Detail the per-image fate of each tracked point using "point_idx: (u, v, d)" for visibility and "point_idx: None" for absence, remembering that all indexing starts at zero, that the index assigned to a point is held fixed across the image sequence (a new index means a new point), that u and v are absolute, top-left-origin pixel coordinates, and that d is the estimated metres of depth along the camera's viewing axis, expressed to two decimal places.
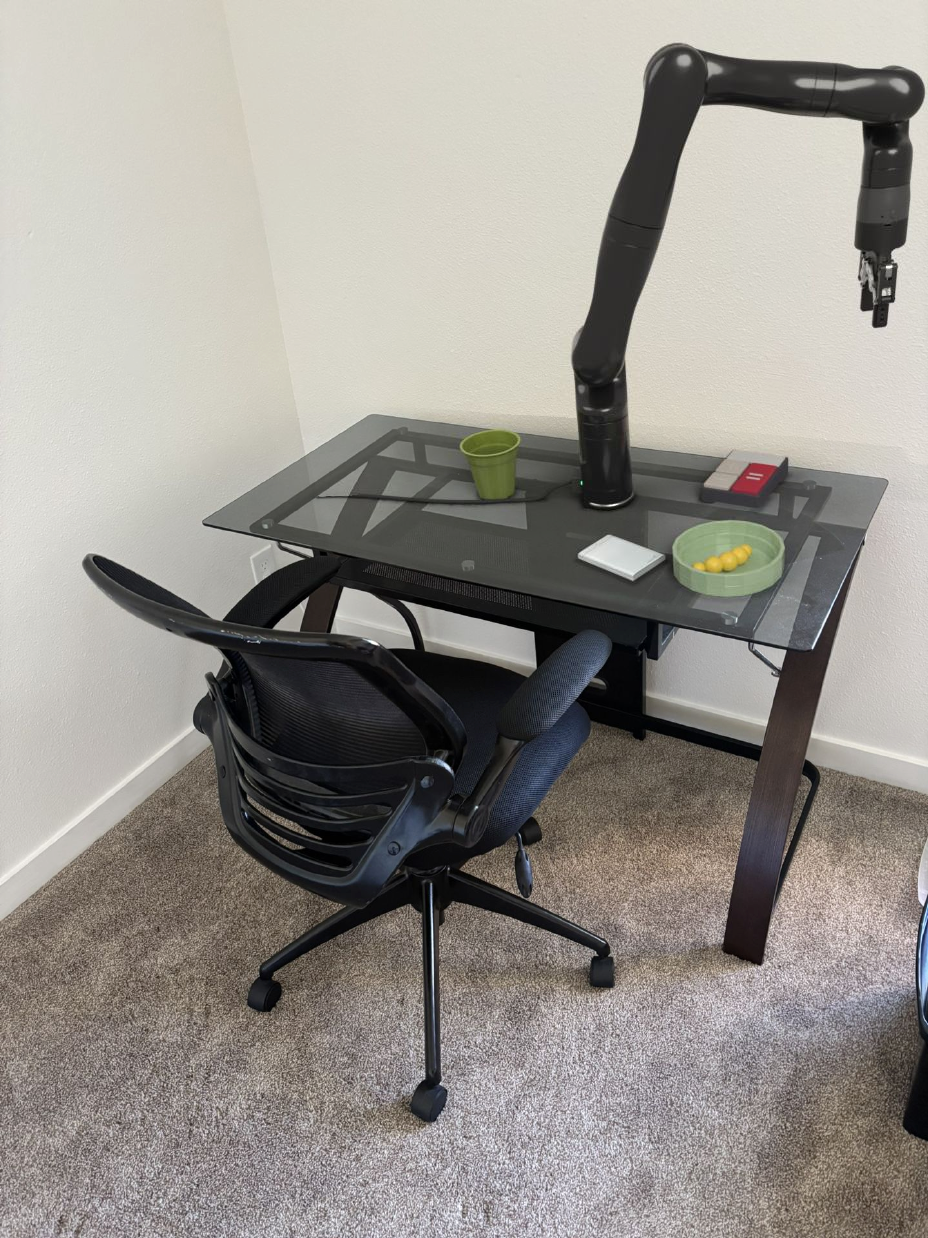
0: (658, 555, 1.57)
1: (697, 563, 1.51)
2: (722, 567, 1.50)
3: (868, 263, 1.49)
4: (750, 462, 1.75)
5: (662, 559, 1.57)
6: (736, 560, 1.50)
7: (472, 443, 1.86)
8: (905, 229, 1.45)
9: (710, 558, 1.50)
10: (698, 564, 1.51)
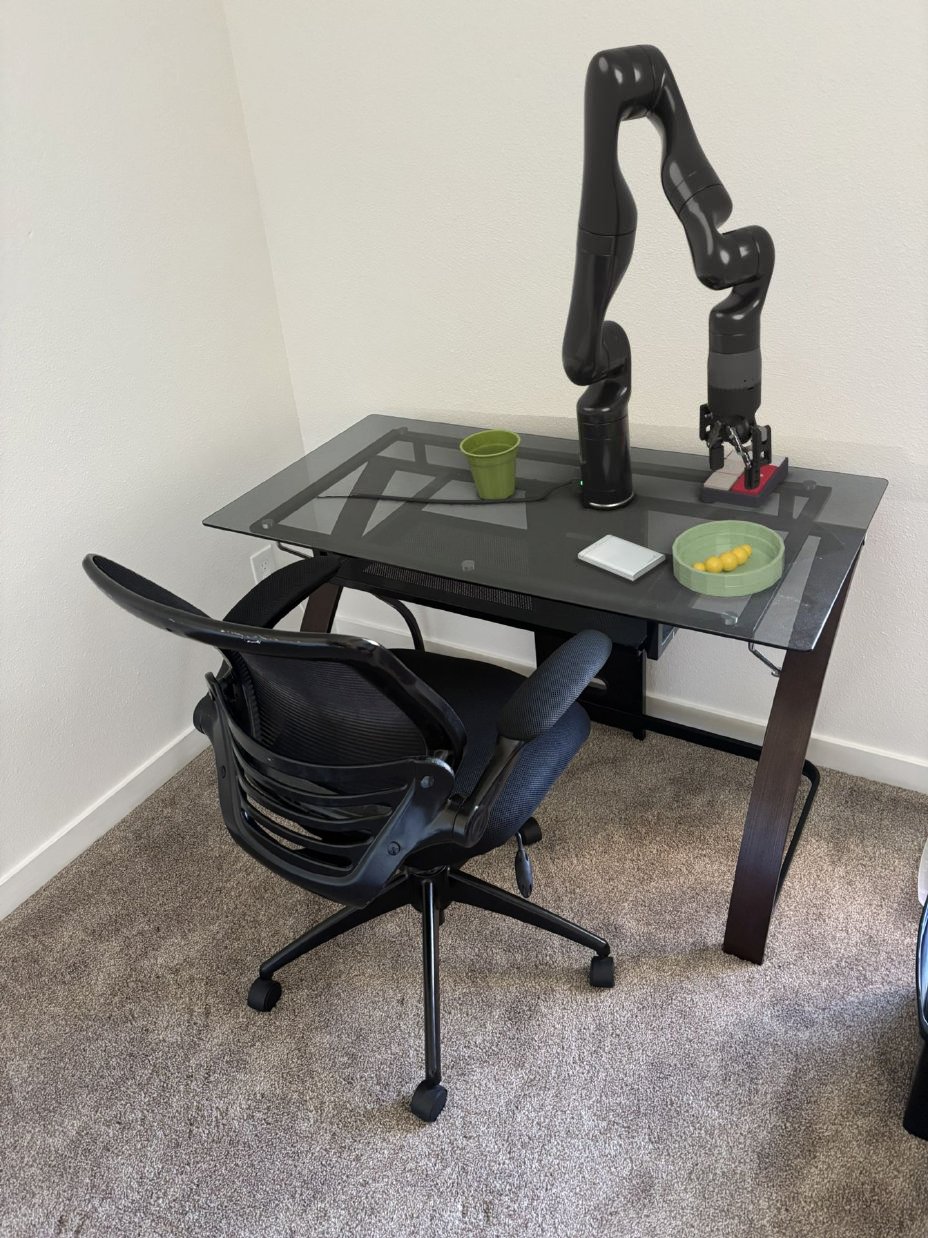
0: (658, 555, 1.57)
1: (697, 563, 1.51)
2: (722, 567, 1.50)
3: (730, 427, 1.37)
4: None
5: (662, 559, 1.57)
6: (736, 560, 1.50)
7: (472, 443, 1.86)
8: None
9: (710, 558, 1.50)
10: (698, 564, 1.51)
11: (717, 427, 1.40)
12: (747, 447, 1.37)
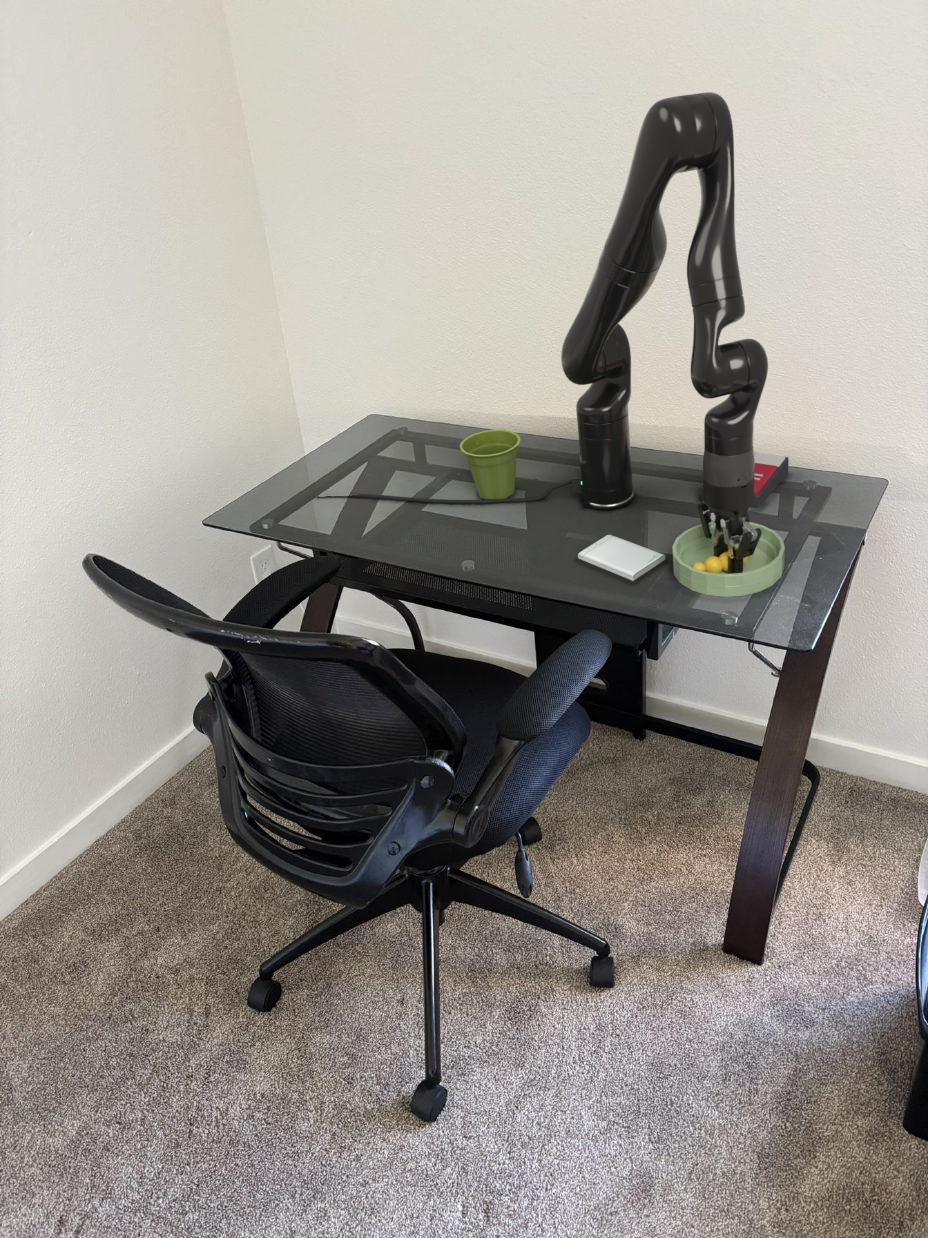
0: (658, 555, 1.57)
1: (697, 563, 1.51)
2: (722, 567, 1.50)
3: (725, 522, 1.44)
4: None
5: (662, 559, 1.57)
6: None
7: (472, 443, 1.86)
8: None
9: (710, 558, 1.50)
10: (698, 564, 1.51)
11: (712, 518, 1.47)
12: (735, 540, 1.46)
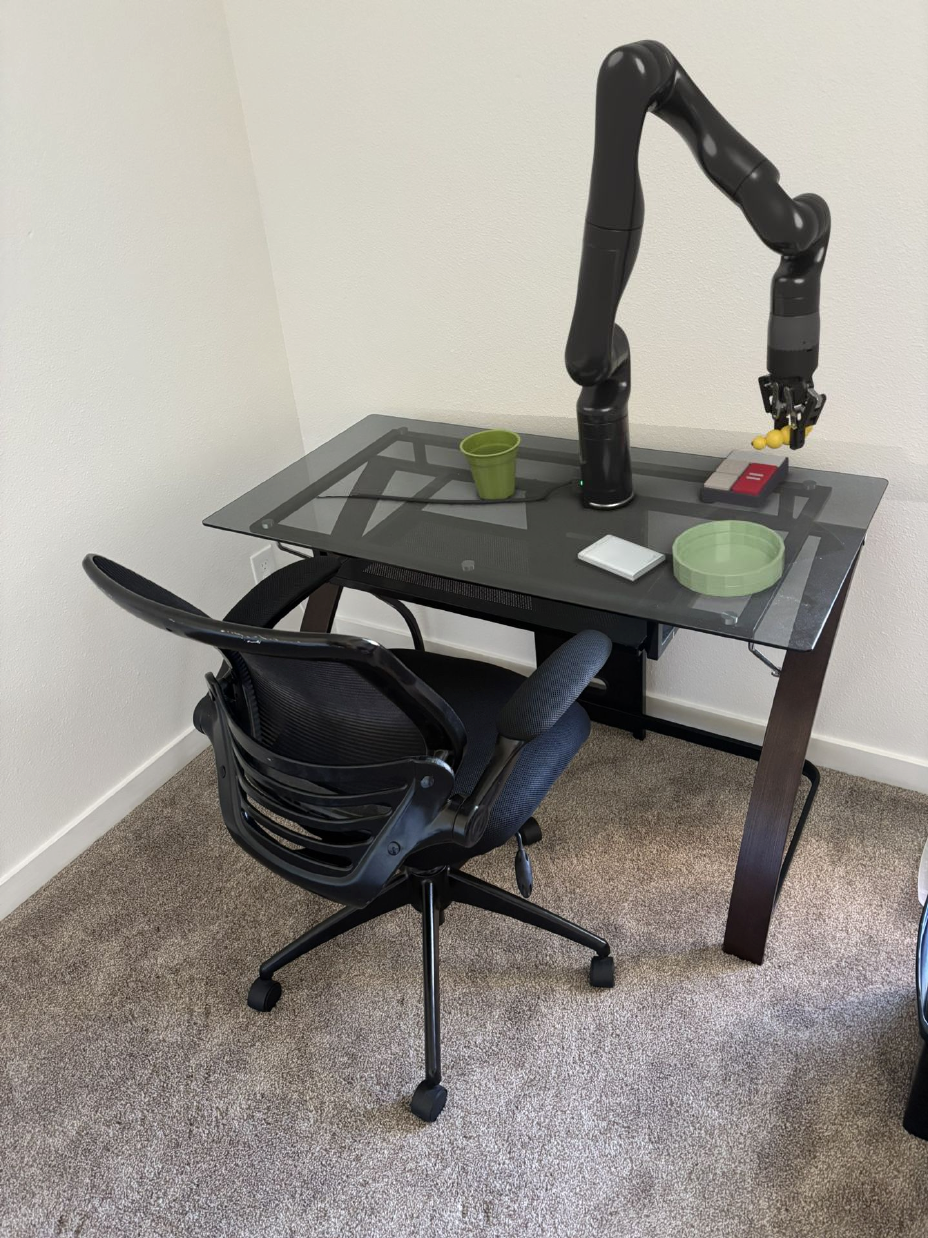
0: (658, 555, 1.57)
1: (758, 437, 1.51)
2: (783, 440, 1.50)
3: (789, 390, 1.44)
4: (750, 462, 1.75)
5: (662, 559, 1.57)
6: None
7: (472, 443, 1.86)
8: None
9: (771, 431, 1.50)
10: (759, 437, 1.50)
11: (775, 388, 1.47)
12: (798, 410, 1.46)
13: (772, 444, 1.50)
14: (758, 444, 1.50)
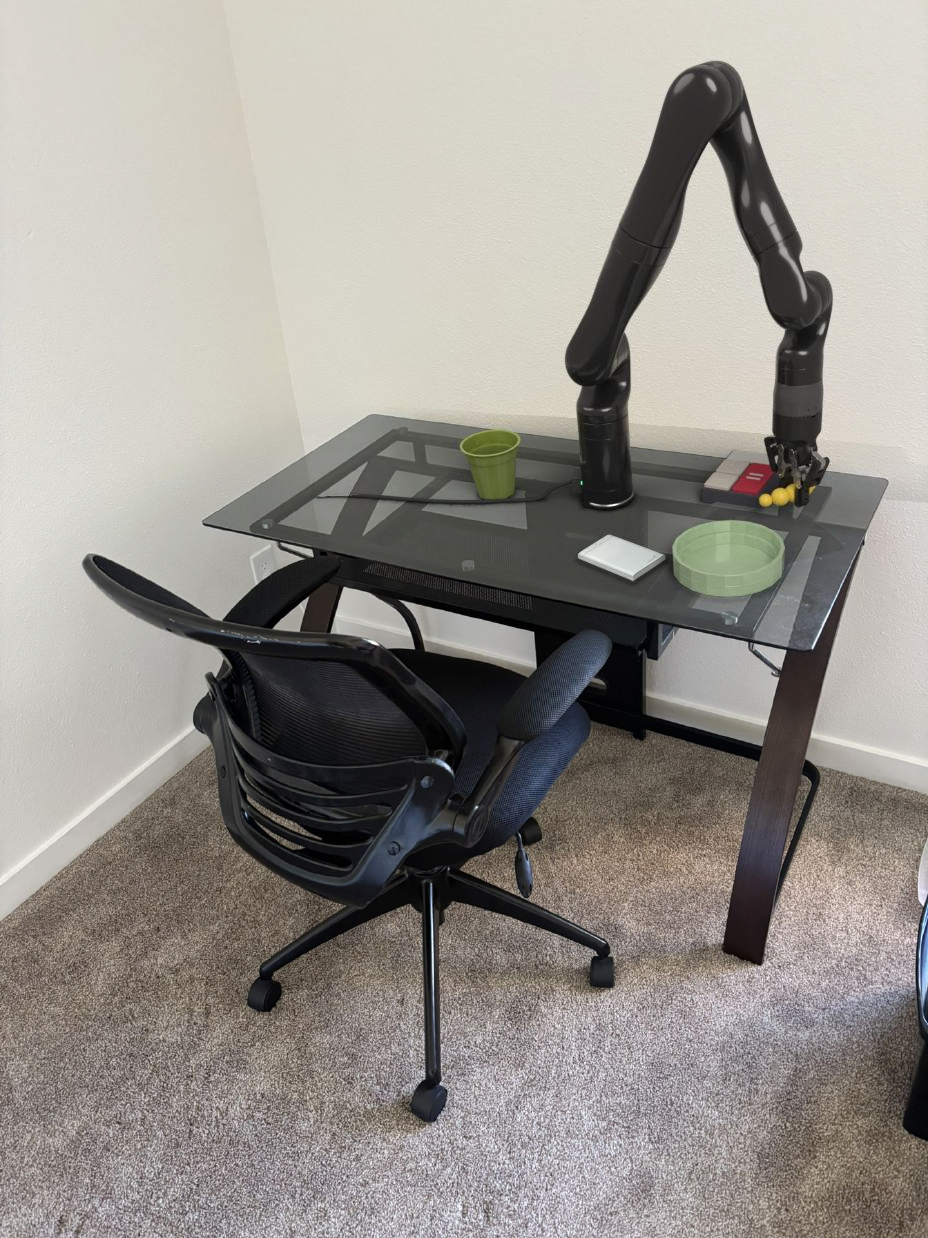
0: (658, 555, 1.57)
1: (764, 494, 1.58)
2: (789, 498, 1.57)
3: (794, 452, 1.51)
4: (750, 462, 1.75)
5: (662, 559, 1.57)
6: None
7: (472, 443, 1.86)
8: None
9: (777, 489, 1.57)
10: (765, 495, 1.58)
11: (780, 450, 1.54)
12: (802, 471, 1.53)
13: (778, 502, 1.57)
14: (764, 502, 1.57)
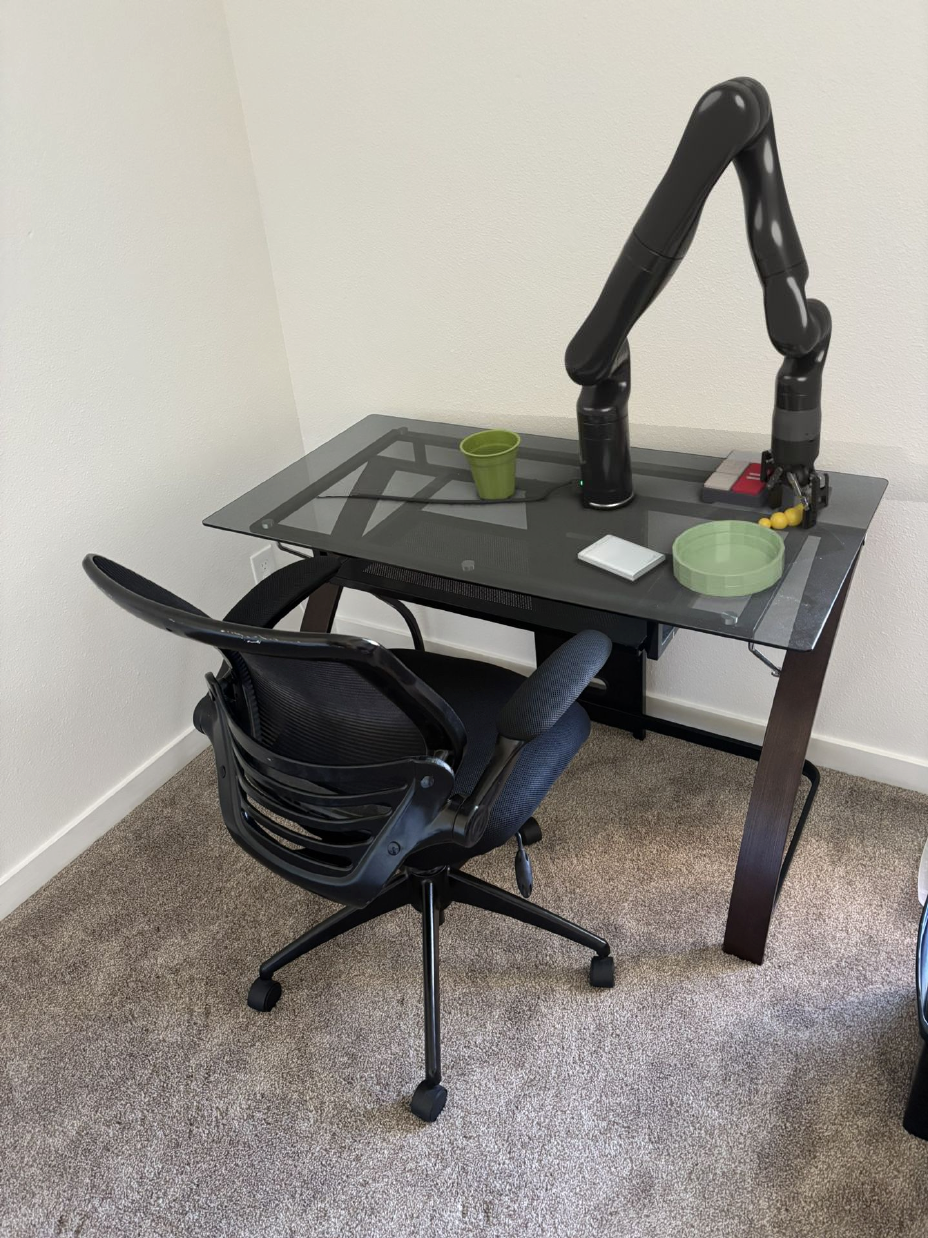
0: (658, 555, 1.57)
1: (763, 519, 1.60)
2: (787, 522, 1.60)
3: (791, 474, 1.53)
4: (750, 462, 1.75)
5: (662, 559, 1.57)
6: (800, 515, 1.59)
7: (472, 443, 1.86)
8: None
9: (776, 514, 1.60)
10: (764, 519, 1.60)
11: (778, 472, 1.56)
12: (806, 491, 1.54)
13: (777, 526, 1.59)
14: None
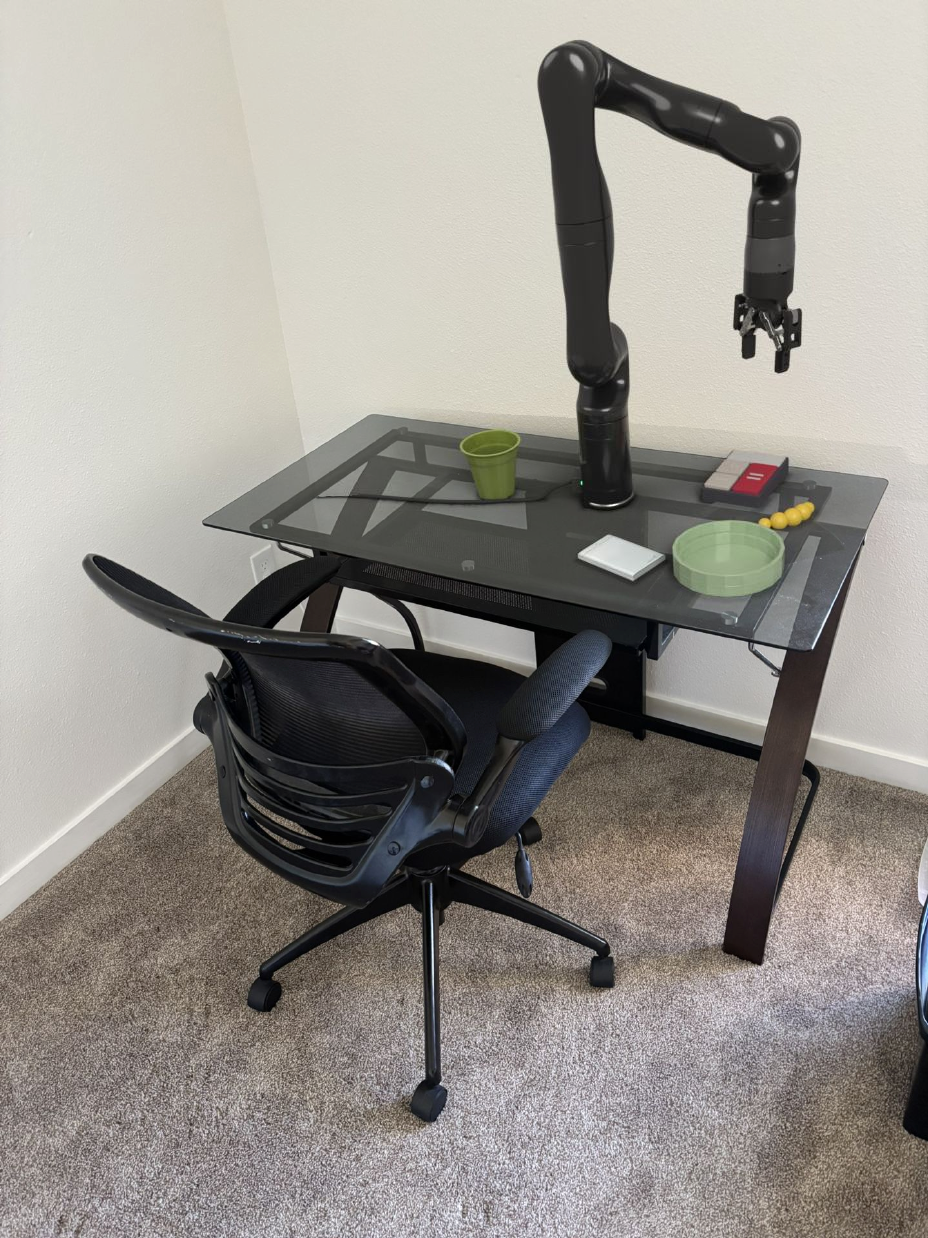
0: (658, 555, 1.57)
1: (763, 519, 1.60)
2: (787, 522, 1.60)
3: (764, 312, 1.47)
4: (750, 462, 1.75)
5: (662, 559, 1.57)
6: (800, 515, 1.59)
7: (472, 443, 1.86)
8: None
9: (776, 514, 1.60)
10: (764, 519, 1.60)
11: (751, 313, 1.50)
12: (779, 331, 1.48)
13: (777, 526, 1.59)
14: None
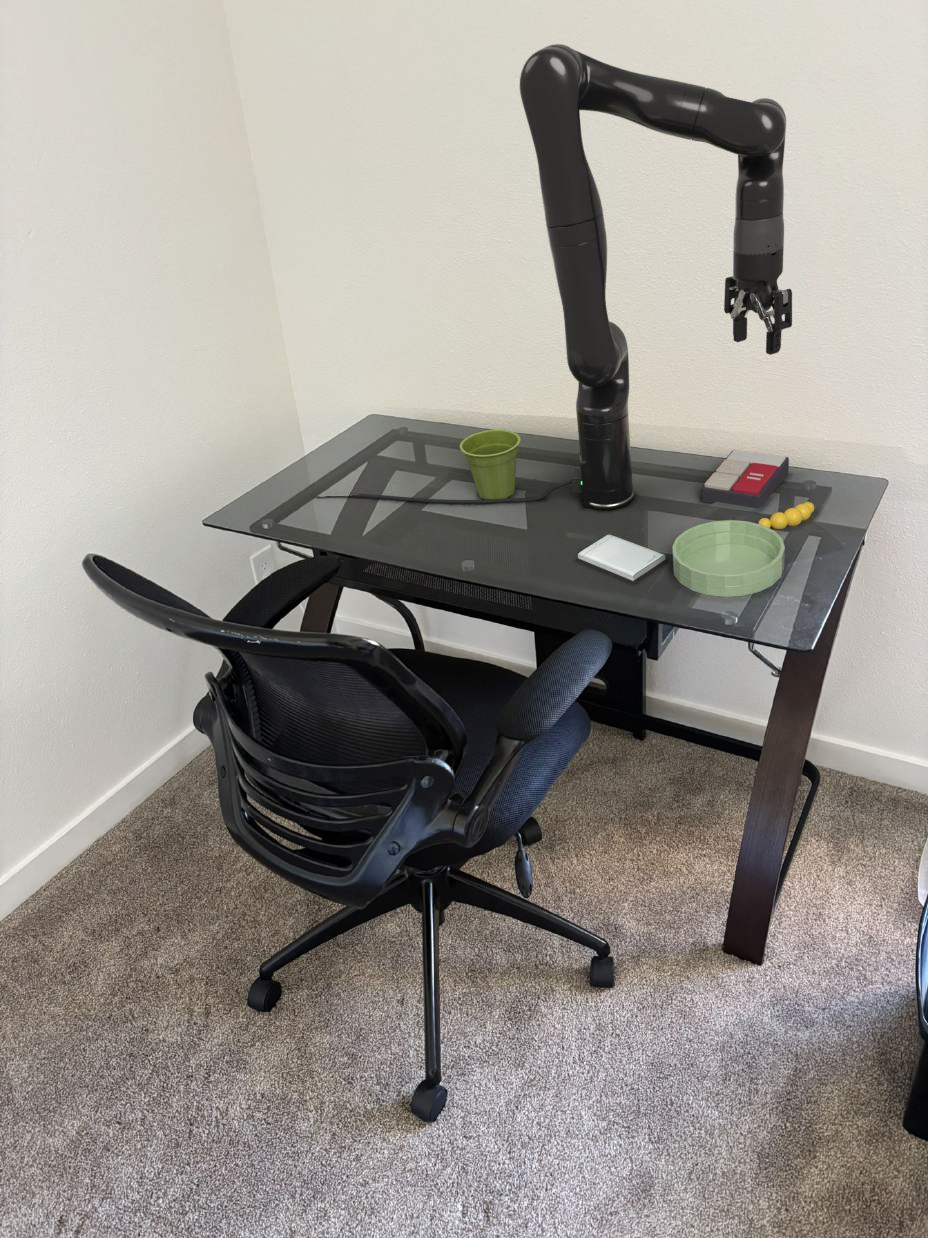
0: (658, 555, 1.57)
1: (763, 519, 1.60)
2: (787, 522, 1.60)
3: (754, 293, 1.49)
4: (750, 462, 1.75)
5: (662, 559, 1.57)
6: (800, 515, 1.59)
7: (472, 443, 1.86)
8: None
9: (776, 514, 1.60)
10: (764, 519, 1.60)
11: (741, 296, 1.51)
12: (769, 312, 1.49)
13: (777, 526, 1.59)
14: None
